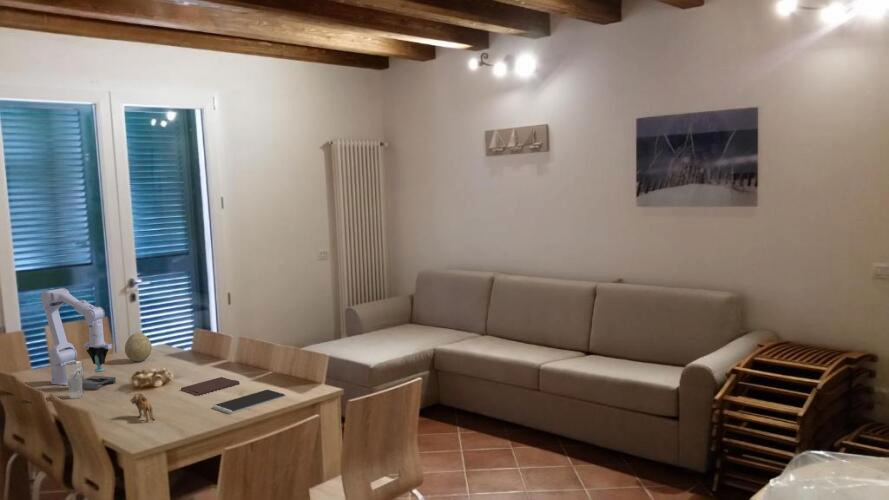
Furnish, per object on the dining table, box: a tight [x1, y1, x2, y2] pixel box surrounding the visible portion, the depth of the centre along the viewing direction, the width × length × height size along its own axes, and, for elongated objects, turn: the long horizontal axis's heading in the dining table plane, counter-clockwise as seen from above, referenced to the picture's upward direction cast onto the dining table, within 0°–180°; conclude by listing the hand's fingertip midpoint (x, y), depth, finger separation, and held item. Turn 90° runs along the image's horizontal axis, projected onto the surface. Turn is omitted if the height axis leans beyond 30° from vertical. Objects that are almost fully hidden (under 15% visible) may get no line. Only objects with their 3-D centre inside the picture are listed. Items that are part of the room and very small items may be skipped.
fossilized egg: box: [124, 332, 153, 363], centre depth 350 cm, size 13×13×15 cm
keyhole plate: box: [83, 375, 117, 391], centre depth 307 cm, size 13×11×3 cm
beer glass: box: [65, 360, 85, 400], centre depth 291 cm, size 7×7×15 cm
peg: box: [94, 355, 106, 373], centre depth 305 cm, size 4×4×7 cm
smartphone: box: [212, 389, 287, 415], centre depth 275 cm, size 13×27×2 cm, turn 140°
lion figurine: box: [129, 392, 156, 423], centre depth 259 cm, size 15×5×9 cm, turn 51°
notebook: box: [180, 376, 240, 396], centre depth 298 cm, size 15×20×2 cm
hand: (99, 363), depth 305 cm, fingers closed on peg, 3 cm apart
